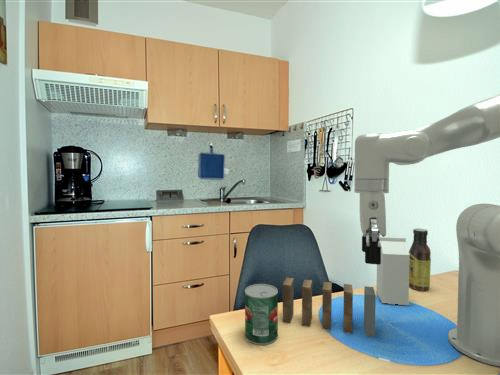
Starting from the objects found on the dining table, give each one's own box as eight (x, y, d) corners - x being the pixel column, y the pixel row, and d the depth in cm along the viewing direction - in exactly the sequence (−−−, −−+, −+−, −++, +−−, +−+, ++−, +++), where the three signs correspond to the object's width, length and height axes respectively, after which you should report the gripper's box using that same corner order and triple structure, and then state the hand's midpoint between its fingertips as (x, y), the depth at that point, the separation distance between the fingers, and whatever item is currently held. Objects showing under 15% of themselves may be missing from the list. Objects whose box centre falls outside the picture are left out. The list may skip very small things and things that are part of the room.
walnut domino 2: (312, 316, 75) (312, 280, 74) (310, 326, 70) (310, 287, 69) (304, 315, 75) (304, 279, 75) (302, 325, 70) (302, 286, 70)
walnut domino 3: (331, 319, 73) (331, 282, 73) (330, 330, 68) (330, 290, 68) (323, 318, 74) (323, 281, 73) (322, 328, 69) (322, 289, 68)
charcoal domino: (372, 326, 70) (373, 287, 69) (375, 337, 65) (375, 295, 65) (364, 324, 70) (364, 286, 70) (365, 335, 66) (366, 294, 65)
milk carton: (408, 306, 80) (410, 241, 79) (382, 304, 82) (383, 240, 81) (400, 295, 87) (401, 235, 86) (376, 293, 88) (377, 234, 88)
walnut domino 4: (351, 322, 71) (352, 284, 71) (352, 333, 67) (352, 292, 66) (343, 321, 72) (343, 283, 72) (343, 332, 67) (343, 291, 67)
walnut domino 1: (293, 314, 76) (293, 278, 76) (290, 323, 71) (290, 285, 71) (286, 312, 77) (286, 277, 76) (282, 322, 72) (282, 284, 72)
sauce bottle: (408, 282, 97) (409, 226, 96) (429, 286, 94) (431, 228, 93) (407, 289, 91) (409, 229, 90) (430, 293, 88) (431, 231, 87)
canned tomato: (240, 329, 69) (240, 286, 68) (269, 323, 71) (269, 281, 71) (252, 348, 61) (251, 300, 61) (283, 340, 64) (283, 294, 63)
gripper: (395, 188, 57) (394, 271, 58) (383, 185, 73) (382, 249, 74) (356, 188, 59) (355, 267, 60) (352, 185, 75) (352, 247, 76)
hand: (370, 257), depth 67 cm, fingers open, 9 cm apart
